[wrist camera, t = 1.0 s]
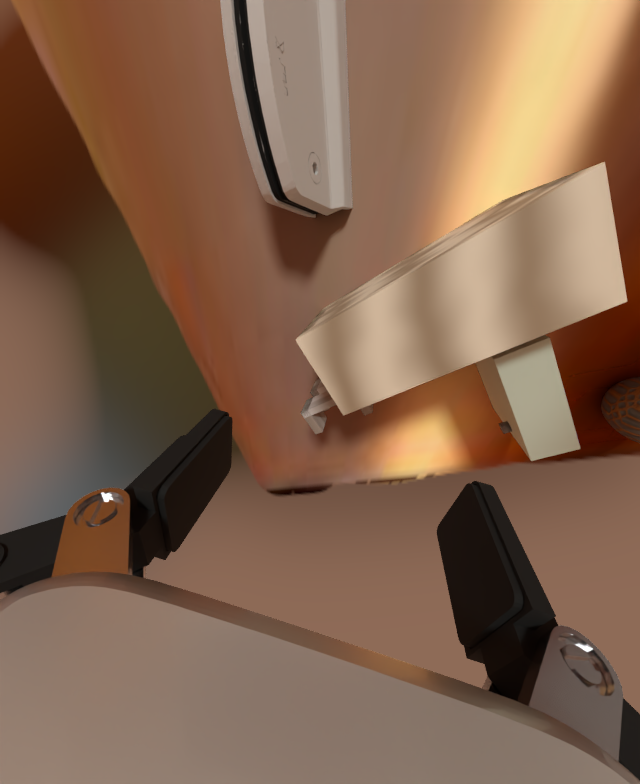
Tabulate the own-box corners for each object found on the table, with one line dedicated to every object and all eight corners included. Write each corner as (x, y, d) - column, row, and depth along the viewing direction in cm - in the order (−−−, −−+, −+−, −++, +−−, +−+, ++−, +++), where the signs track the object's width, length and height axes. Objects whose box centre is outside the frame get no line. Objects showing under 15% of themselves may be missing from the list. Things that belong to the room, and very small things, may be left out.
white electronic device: (352, 212, 28) (298, 205, 20) (314, 220, 30) (252, 215, 23) (343, -53, 20) (249, -222, 13) (292, -16, 22) (188, -139, 15)
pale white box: (499, 311, 29) (549, 337, 21) (527, 396, 33) (580, 448, 25) (454, 331, 31) (483, 363, 23) (486, 410, 35) (521, 463, 26)
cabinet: (502, 200, 25) (604, 161, 14) (533, 308, 29) (634, 347, 17) (284, 332, 35) (240, 371, 24) (327, 399, 39) (307, 460, 28)
